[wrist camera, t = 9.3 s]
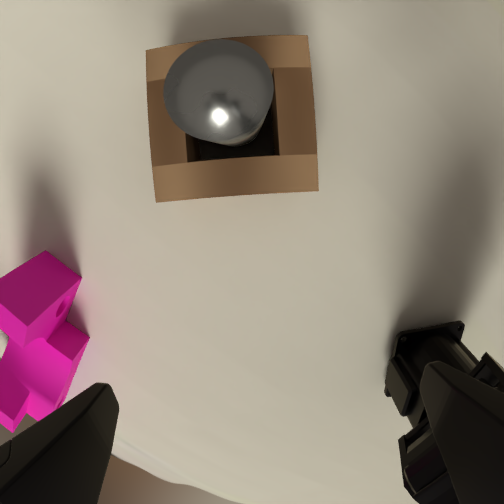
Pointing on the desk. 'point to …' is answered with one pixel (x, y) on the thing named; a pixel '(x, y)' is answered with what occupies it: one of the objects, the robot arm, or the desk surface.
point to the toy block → (37, 339)
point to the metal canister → (219, 92)
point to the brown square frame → (248, 167)
